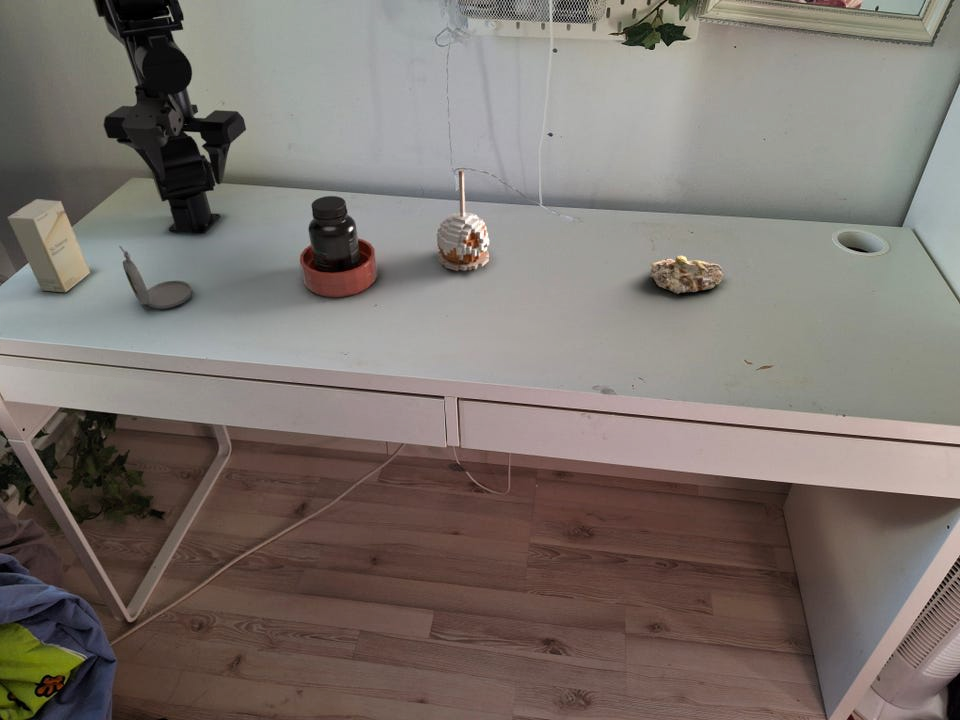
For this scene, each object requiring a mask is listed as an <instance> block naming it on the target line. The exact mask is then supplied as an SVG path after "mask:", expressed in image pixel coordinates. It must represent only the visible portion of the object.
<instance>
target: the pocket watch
mask: <svg viewBox="0 0 960 720" xmlns="http://www.w3.org/2000/svg"><path fill="white" fill-rule="evenodd" d="M118 247H119V249H121V251H122V253H123V256H124V258H125V259H124V260H123V261H122V267H123V270H124V273H125V275H126V279H127V281H128V283H129V285H130V287H131V289H132V292H133V293H134V295H135V297H136V299H137V300H138V302H139V303H140V305H147V306H148V307H149V308H153V309H157V310H158V309H159V310H160V309H162V310H164V309H171V308H174V307H177V306H180V305H182V304H183V303H185V302H187V301H188V300H189V299H190V298H191V296H192V293H193V289H192V286H191V285H190V284H189V283H188V282H186V281H184V280H167V281H163V282H160V283H157V284H154V285H153V286H151V287H150V288H148V289H147V286H146V284H145V282H144V279H143V276H142V275H141V273H140V271H139V269H138V268H137V265H136V264H135V262H133V260H132V259H131V254H130V253H129V252H128V250H125V249H124V248H123V247H122V246H121V245H119V246H118Z"/></svg>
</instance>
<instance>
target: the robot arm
mask: <svg viewBox="0 0 960 720" xmlns="http://www.w3.org/2000/svg"><path fill="white" fill-rule="evenodd" d="M92 2H93V5H94V8H95V11H96V14H97V16H98V18H103V20H104V23H105V26H106V28H107V31H108V32H109V33H110V34H111V35H112V36H113V37H114V38H115V39H116V40H117V41H118V42H119V43H120V44H122V46H123V47H124V50H125V52H126V55H127V58H128V62H129V64H130V67H131V70H132V73H133V76H134V79H135V82H136V84H137V85H134V89H135V91H134V94H135V97H136V103H135V104H134V105H122V106H119V108H117V109H115V110H113V111H111V112H110V113H108V114H106V115H105V117H104V119H103V125H102V126H103V129H104V132H105V135H106V137H107V138H108V139H116V142H117V143H118V144H121V145H122V144H123V145H124V146H127V147H129V148H132V149H133V150H134V151H135V152H136V153H137V155H138V156H140V157H141V159H142V160H143V161H144V163H145V164H146V165H147V166H148V168H149V169H150V171H151V175H152V180H153V182H154V185H155V188H156V191H157V194H158V195H159V198H160V200H161V202H166V201H168V204H169V207H170V213H171V217H172V219H173V223H172V224H171V225H170V226H169V227H168V231H169V232H171V233H188V234H197V235H204V234H206V233H207V232H208V231H209V230H210V228H212V227H213V226H214V225H215V223H216V222H217V221H219V219H220V218H221V215H220V213H213V212H212V210H211V207H210V203H209V200H208V196H207V193H206V192H213V191H215V189H214V187H216V185H221V184H222V183H223V180H224V175H225V170H226V164H227V159H228V154H229V151H230V147H231V144H232V143H233V142H234V141H235V140H236V139H238V138H239V137H240V136H242V134H243V133H244V132H245V131H247V126H246V123H245V118H244V116H243V115H242V114H241V113H240V112H239V111H237V110H218V109H215V110H213V111H212V112H211V113H209V114H208V115H207V116H206V117H195V115H196V114H197V113H199V109H198V105H197V104H194V103H193V104H192V102H191V99H190V94H189V90H188V86H189V85H190V84H191V81H192V78H193V69H192V64H191V62H190V60H189V59H188V57H187V56H186V54H185V53H184V52H183V50H182V49H181V48H180V47H179V46H178V44H177V43H176V41H175V38H174V35H173V33H172V32H177V31H183V30H184V26H183V23H182V21H185V18H184V12H183V9H182V8H181V4H180V2H179V0H92ZM170 14H171V16H170ZM187 133H199V134H200V139H202V140H203V141H204V142H205V143H203V144H202V145H201V147H202V149H204V151H206V152H207V153H208V157H209V158H208V159H209V161H208V159H207V158H206V155H205V154H201V151H200V149H199V146H198V143H197V142H196V140H195V139H194V138H193V136H191V135H189V134H187Z"/></svg>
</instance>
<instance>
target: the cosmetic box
mask: <svg viewBox="0 0 960 720" xmlns="http://www.w3.org/2000/svg"><path fill="white" fill-rule="evenodd" d="M7 220H8V222H9V224H10V226H11V228H12V230H13V232H14V235H15V237H16V239H17V241H18V243H19V245H20V248H21V250H22V252H23V254H24V257H25V258H26V260H27V262H28V264H29V266H30V268H31V271H32V273H33V275H34V278H35V279H36V282H37V284H38V286H39V289H40V290H41V291H46V292H56V293H67V292H68V291H70V290H71V289H72V288H73V287H75V286H76V285H78V284H79V283H80V282H81V281H82V280H84V279H85V278H86V277H87V276H88V275H90V273H91V271H90V267H89V266H88V263H87V261H86V258H85V256H84V254H83V252H82V249H81V247H80V244H79V242H78V239H77V236H76V235H75V232H74V229H73V226H72V224H71V222H70V220H69V218H68V215H67V213H66V211H65V208H64V205H63V203H62V201H61V200H53V199H39V198H36V199H34V200H33V201H31V202H29V203H28V204H26V205H24V206H23V207H21V208H19V209H18V210H17V211H15V212H14V213H12V214H11V215H9V216H7Z"/></svg>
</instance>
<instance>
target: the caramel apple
mask: <svg viewBox="0 0 960 720" xmlns="http://www.w3.org/2000/svg"><path fill="white" fill-rule="evenodd" d="M458 190H459V191H458V194H459V195H458V197H459V211H458V212H457V213H455V212H453V213H452V214H451V215H449V216H448V217H447V218H445V220H443V221H442V222H441V223H440V224H439V225H440V227H439V228H438V229H437V233H436V240H437V241H436V242H437V243H436V244H437V248H438V250H439V251H438V255H437V259H438V260H439V262H440V265H444V268H446V269H449V270H453V271H457V272H458V271H459V270H461V271H464V272H466V271H467V270H468V271H471V270H472V269H473V270H477V269H478V268H479V267H481V268H483V267H484V266H485V265H486V264H487V263H488V262H489V261H490V252H489V251H488V246H489V245H490V237H489V231H487V225H486V224H485V220H483V219H481V218H480V217H479V216H477V214H474V213H471V212H467V211H466V200H465V199H466V198H465V197H466V195H465V194H466V193H465V170H464V169H461V168H460V169H459V170H458Z"/></svg>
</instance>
